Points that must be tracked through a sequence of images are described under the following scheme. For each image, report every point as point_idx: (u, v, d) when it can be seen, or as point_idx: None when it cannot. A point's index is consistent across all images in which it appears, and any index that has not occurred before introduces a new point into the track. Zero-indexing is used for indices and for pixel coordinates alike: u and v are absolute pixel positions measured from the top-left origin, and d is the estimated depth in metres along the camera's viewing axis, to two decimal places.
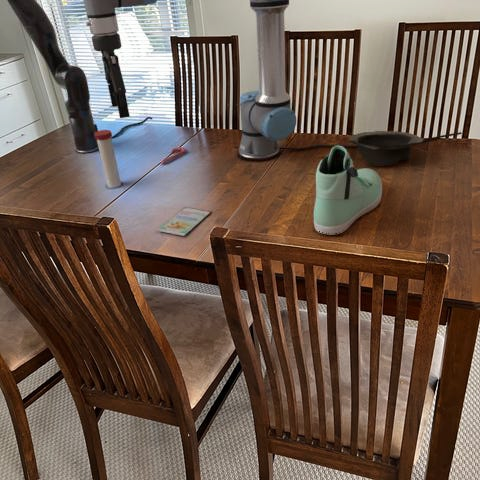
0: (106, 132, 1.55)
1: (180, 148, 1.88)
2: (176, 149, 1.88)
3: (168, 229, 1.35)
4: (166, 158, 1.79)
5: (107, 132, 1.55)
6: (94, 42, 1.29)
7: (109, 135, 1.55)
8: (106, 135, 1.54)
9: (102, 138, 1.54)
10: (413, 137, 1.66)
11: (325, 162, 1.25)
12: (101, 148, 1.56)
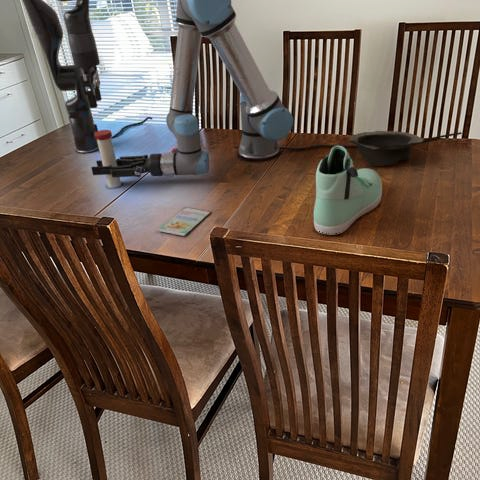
0: (106, 132, 1.55)
1: None
2: (176, 149, 1.88)
3: (168, 229, 1.35)
4: None
5: (107, 132, 1.55)
6: None
7: (109, 135, 1.55)
8: (106, 135, 1.54)
9: (102, 138, 1.54)
10: (413, 137, 1.66)
11: (325, 162, 1.25)
12: (101, 148, 1.56)
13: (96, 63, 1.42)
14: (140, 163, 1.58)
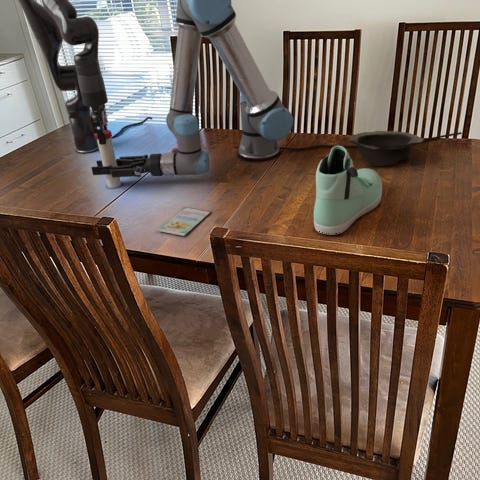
0: (106, 132, 1.55)
1: None
2: (176, 149, 1.88)
3: (168, 229, 1.35)
4: None
5: (107, 132, 1.55)
6: None
7: (109, 135, 1.55)
8: (106, 135, 1.54)
9: None
10: (413, 137, 1.66)
11: (325, 162, 1.25)
12: (101, 148, 1.56)
13: (104, 102, 1.48)
14: (140, 163, 1.58)
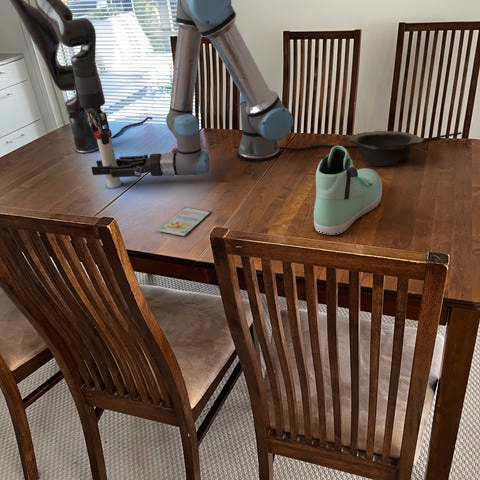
0: None
1: None
2: (176, 149, 1.88)
3: (168, 229, 1.35)
4: None
5: None
6: None
7: None
8: None
9: (111, 134, 1.55)
10: (413, 137, 1.66)
11: (325, 162, 1.25)
12: (101, 148, 1.56)
13: (104, 101, 1.50)
14: (140, 163, 1.58)
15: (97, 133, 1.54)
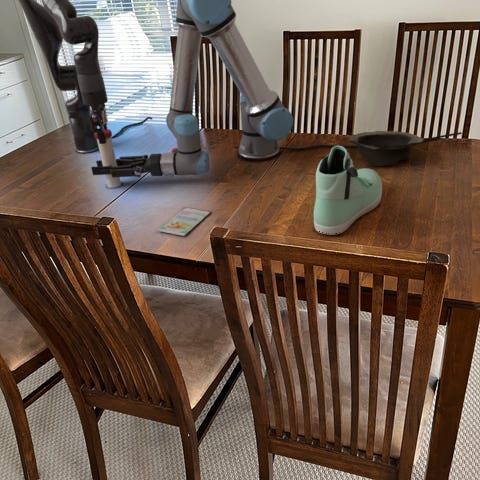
0: (105, 130, 1.56)
1: None
2: (176, 149, 1.88)
3: (168, 229, 1.35)
4: None
5: (105, 130, 1.56)
6: None
7: None
8: None
9: (111, 134, 1.55)
10: (413, 137, 1.66)
11: (325, 162, 1.25)
12: (101, 148, 1.56)
13: (104, 101, 1.48)
14: (140, 163, 1.58)
15: None
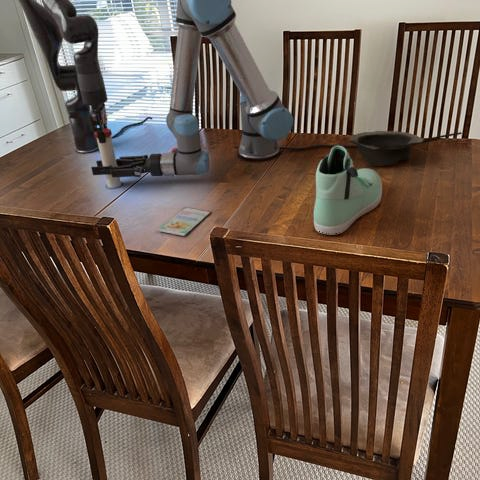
0: None
1: None
2: (176, 149, 1.88)
3: (168, 229, 1.35)
4: None
5: None
6: None
7: None
8: None
9: None
10: (413, 137, 1.66)
11: (325, 162, 1.25)
12: (101, 148, 1.56)
13: (104, 100, 1.48)
14: (140, 163, 1.58)
15: (104, 132, 1.54)
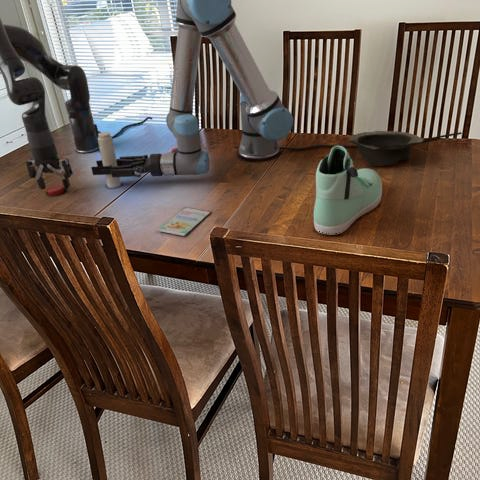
0: (50, 189, 1.62)
1: None
2: (176, 149, 1.88)
3: (168, 229, 1.35)
4: None
5: (50, 189, 1.62)
6: None
7: (47, 192, 1.62)
8: None
9: None
10: (413, 137, 1.66)
11: (325, 162, 1.25)
12: (102, 147, 1.56)
13: None
14: (140, 163, 1.58)
15: (60, 186, 1.63)
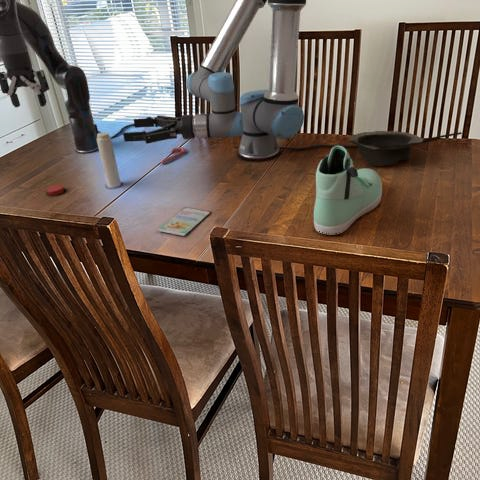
0: (50, 189, 1.62)
1: (180, 148, 1.88)
2: (176, 149, 1.88)
3: (168, 229, 1.35)
4: (166, 158, 1.79)
5: (50, 189, 1.62)
6: None
7: (47, 192, 1.62)
8: None
9: None
10: (413, 137, 1.66)
11: (325, 162, 1.25)
12: (101, 148, 1.56)
13: None
14: (172, 125, 1.51)
15: (60, 186, 1.63)
